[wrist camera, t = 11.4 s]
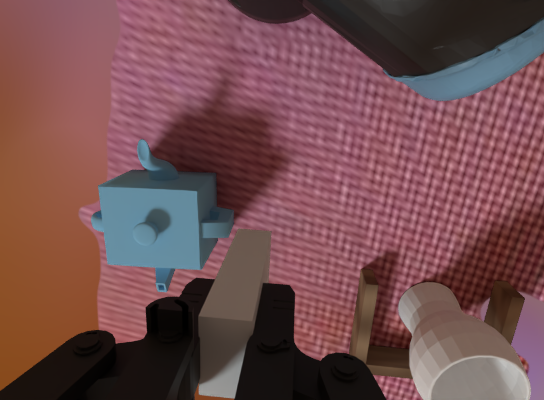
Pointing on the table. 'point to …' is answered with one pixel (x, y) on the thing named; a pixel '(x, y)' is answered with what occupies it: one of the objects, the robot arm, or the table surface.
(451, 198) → the table surface
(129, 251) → the teapot
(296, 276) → the table surface
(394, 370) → the wooden u-shaped bracket
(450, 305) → the cup
